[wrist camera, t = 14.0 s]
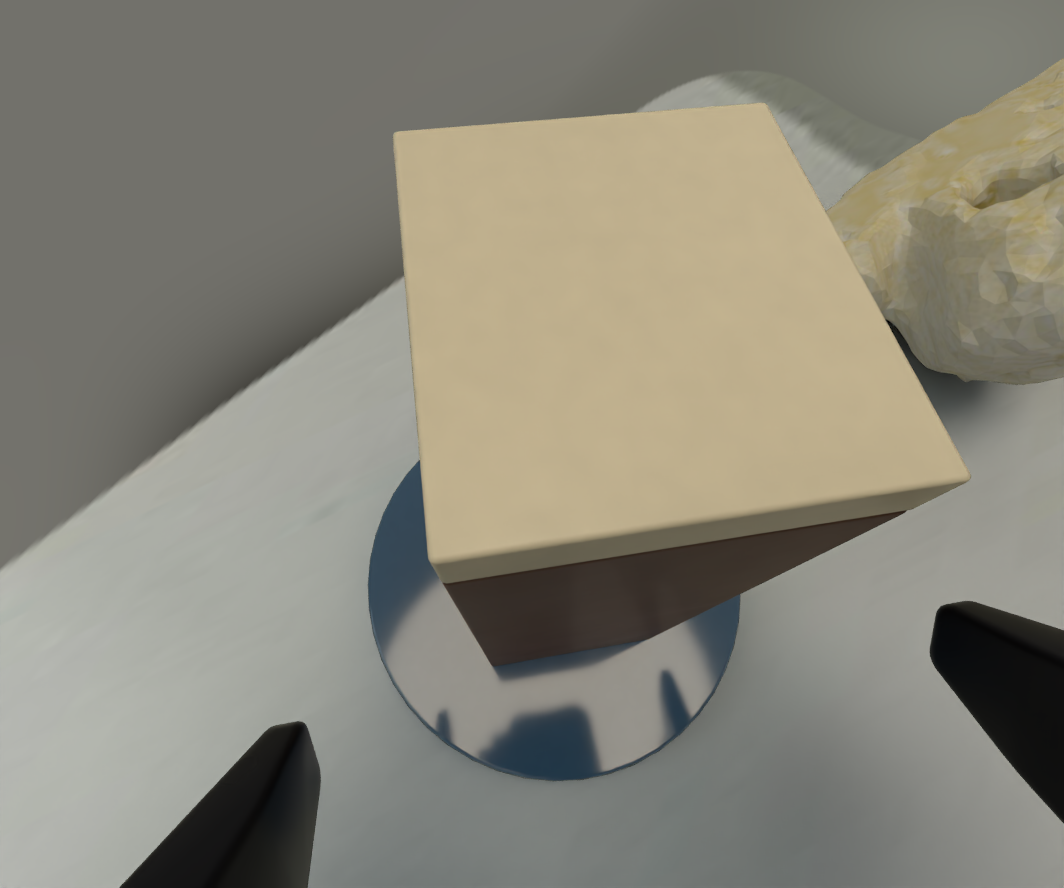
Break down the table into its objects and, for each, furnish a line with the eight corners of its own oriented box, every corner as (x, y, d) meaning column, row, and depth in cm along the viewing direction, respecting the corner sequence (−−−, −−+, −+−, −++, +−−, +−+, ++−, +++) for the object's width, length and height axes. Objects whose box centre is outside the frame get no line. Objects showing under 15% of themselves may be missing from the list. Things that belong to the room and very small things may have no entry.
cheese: (812, 492, 21) (1534, 379, 12) (745, 341, 17) (1690, 36, 9) (797, 294, 31) (1184, 159, 23) (754, 175, 28) (1191, -39, 19)
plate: (628, 869, 14) (638, 883, 13) (300, 633, 16) (285, 627, 15) (777, 520, 18) (794, 508, 17) (501, 371, 20) (500, 352, 19)
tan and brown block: (650, 639, 15) (977, 478, 4) (491, 666, 15) (427, 563, 4) (610, 476, 17) (766, 99, 7) (470, 496, 17) (391, 129, 6)
